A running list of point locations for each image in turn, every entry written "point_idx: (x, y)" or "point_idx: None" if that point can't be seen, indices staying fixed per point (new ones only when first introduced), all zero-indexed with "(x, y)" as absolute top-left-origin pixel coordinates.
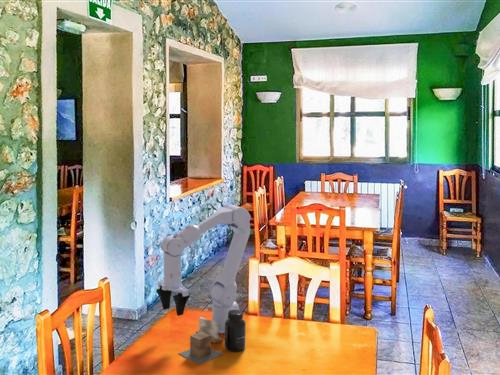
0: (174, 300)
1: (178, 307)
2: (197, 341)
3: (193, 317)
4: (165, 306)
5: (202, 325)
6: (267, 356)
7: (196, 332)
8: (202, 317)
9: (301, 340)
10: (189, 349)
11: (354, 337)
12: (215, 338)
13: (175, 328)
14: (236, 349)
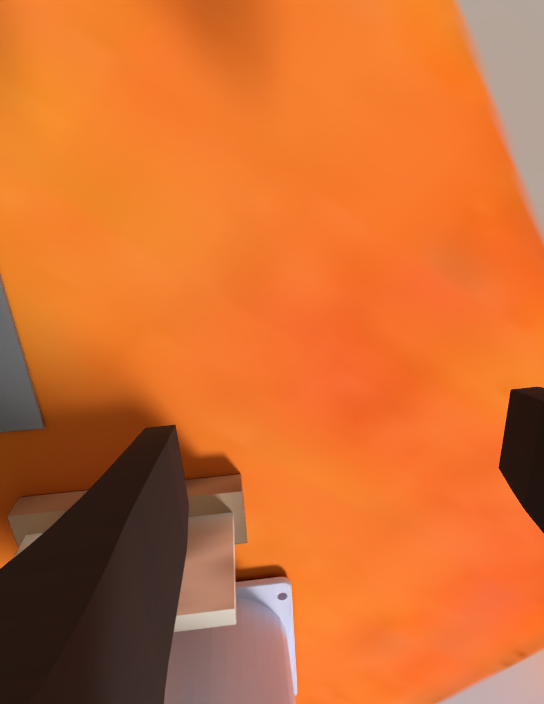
0: (58, 655)
1: (50, 533)
2: None
3: (488, 586)
4: (541, 436)
5: (190, 559)
6: None
7: (233, 486)
8: (212, 626)
9: None
10: (1, 297)
11: None
12: (29, 529)
13: (438, 421)
14: None
